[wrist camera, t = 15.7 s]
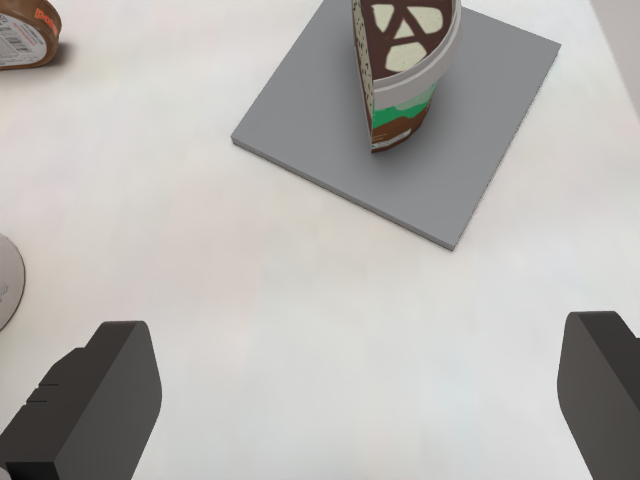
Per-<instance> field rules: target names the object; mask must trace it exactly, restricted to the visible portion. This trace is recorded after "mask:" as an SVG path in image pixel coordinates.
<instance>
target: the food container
mask: <svg viewBox="0 0 640 480" xmlns="http://www.w3.org/2000/svg"><path fill="white" fill-rule="evenodd" d="M351 6H352V23H353V40H354V50H355V56H356V63H357V69H358V75H359V81H360V87H361V93H362V100H363V106H364V112H365V118H366V124H367V130H368V137H369V143H370V149H371V154H372V153H376V152H381V151H385V150H388V149H390V148H392V147H394V146H396V145H398V144H400V143H402V142H404V141H406V140H407V139H408V138H409V137H410V136H411V135H412V134H413V133H414V132H415V131H416V130H417V129H418V128H419V127H420V126H421V124H422V122H423V120H424V118H425V116H426V114H427V112H428V110H429V107H430V104H431V100H432V97H433V94H434V91H435V87H436V84H437V81H438V79H439V78H440V77H441V76H442V75H443V74H444V73H445V72H446V70H447V69H448V67H449V66H450V64H451V63H452V62H453V60H454V58H455V56H456V53H457V51H458V49H459V46H460V42H461V38H462V30H463V17H462V7H461V0H351Z"/></svg>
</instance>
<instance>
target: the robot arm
mask: <svg viewBox="0 0 640 480" xmlns="http://www.w3.org/2000/svg"><path fill="white" fill-rule="evenodd" d="M23 285H24V266H23V262H22V259H21V255H20V254H19V252H18V250H17V248H16V247H15V245H14V244H13V243H12V242H11V241H10V240H9V239H8V238H7V237H5V236H3V235H1V234H0V329H1V328H2V327H3V326H4V325H5V324H6V323H7V321H8V320H9V319H10V317H11V316H12V314H13V312H14V311H15V309H16V308H17V305H18V303H19V300H20V298H21V295H22V291H23ZM557 392H558V399H559V404H560V408H561V411H562V413H563V416H564V418H565V420H566V422H567V424H568V426H569V429H570V431H571V433H572V435H573V437H574V439H575V441H576V444H577V446H578V448H579V450H580V452H581V454H582V456H583V459H584V461H585V463H586V465H587V467H588V469H589V471H590V474H591V476H592V478H593V480H640V338H636V337H635V335H634V334H633V333H632V332H631V330H630V329H629V328H628V326H627V325H626V324H625V322H624V321H623V320H622V318H621V317H620V316H619V315H618V313H616V312H615V311H587V312H571V313H569V315H568V316H567V319H566V323H565V330H564V337H563V344H562V350H561V357H560V364H559V371H558V378H557ZM161 401H162V387H161V381H160V376H159V372H158V367H157V363H156V359H155V354H154V350H153V345H152V341H151V336H150V332H149V329H148V326H147V324H146V323H145V322H144V321H106V322H103V323H102V324H101V325H100V326H99V328H98V329H97V331H96V332H95V333H94V335H93V336H92V338H91V339H90V341H89V342H88V343H87V345H86V346H85V348H75V349H74V350H73V351H71V352H70V353H68V354H67V355H66V356H64V357H63V358H62V359H60V360H59V361H58V362H56V363H55V364H54V365H53V366H52V367H51V368H50V370H49V371H48V372H47V374H46V375H45V377H44V378H43V379H42V381H41V382H40V383H39V387H38V388H36V389H35V390H34V391H33V393H32V394H31V395H30V397H29V398H28V399H27V401H26V405H23V406H22V407H21V409H20V410H19V411H18V413H17V414H16V415H15V417H14V418H13V419H12V421H11V422H10V423H9V425H8V426H7V427H6V429H5V430H4V431H3V433H2V434H1V435H0V480H131V478H132V476H133V474H134V471H135V469H136V467H137V464H138V462H139V460H140V458H141V455H142V453H143V451H144V448H145V446H146V444H147V441H148V439H149V437H150V434H151V432H152V430H153V427H154V425H155V423H156V420H157V418H158V415H159V412H160V408H161Z"/></svg>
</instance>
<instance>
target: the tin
mask: <svg viewBox="0 0 640 480" xmlns="http://www.w3.org/2000/svg"><path fill="white" fill-rule="evenodd" d="M61 26H62V24H61V19H60V16H59V14H58V12H57V11H56V9H55V8H54V7H53V6H52V5H51V4H50V3H49V2H48V1H47V0H0V69H18V68H31V67H37V66H41V65H44V64H46V63H48V62H49V61H50V60H51V59H52V58H53V57H54V55H55V53H56V50H57V46H58V39H59V33H60V31H61Z"/></svg>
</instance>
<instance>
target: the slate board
mask: <svg viewBox="0 0 640 480" xmlns="http://www.w3.org/2000/svg"><path fill="white" fill-rule="evenodd" d="M461 7H462V6H461ZM462 17H463V30H462V38H461V42H460V46H459V49H458V51H457V53H456V56H455V58H454V60H453V62H452V63H451V64H450V66H449V67H448V69H447V70H446V72H445V73H444V74H443V75H442V76H441V77H440V78H439V79H438V81H437V84H436V87H435V91H434V94H433V97H432V100H431V104H430V107H429V110H428V112H427V114H426V116H425V118H424V120H423V122H422V124H421V126H420V127H419V128H418V129H417V130H416V131H415V132H414V133H413V134H412V135H411V136H410V137H409V138H408V139H407V140H406V141H404V142H402V143H400V144H398V145H396V146H394V147H392V148H390V149H388V150H385V151H381V152H376V153H372V154H371V149H370V143H369V137H368V130H367V124H366V118H365V112H364V106H363V100H362V93H361V87H360V81H359V75H358V69H357V63H356V56H355V50H354V40H353V23H352V6H351V0H324V1H323V2H322V4H321V5H320V7H319V8H318V10H317V11H316V13H315V14H314V16H313V17H312V18H311V20H310V21H309V23H308V24H307V26H306V27H305V29H304V30H303V32H302V33H301V34H300V36H299V37H298V39H297V40H296V42H295V43H294V45H293V46H292V48H291V49H290V50H289V52H288V53H287V55H286V56H285V58H284V59H283V61H282V62H281V63H280V65H279V66H278V68H277V69H276V71H275V72H274V74H273V75H272V77H271V78H270V79H269V81H268V82H267V84H266V85H265V87H264V88H263V90H262V91H261V93H260V94H259V95H258V97H257V98H256V100H255V101H254V103H253V104H252V106H251V107H250V109H249V110H248V111H247V113H246V114H245V116H244V117H243V119H242V120H241V122H240V123H239V125H238V126H237V127H236V129H235V130H234V132H233V133H232V135H231V136H230V137H231V139H232V141H233V143H234V144H236V145H238V146H240V147H242V148H244V149H246V150H248V151H250V152H253V153H255V154H257V155H259V156H261V157H263V158H265V159H267V160H269V161H271V162H273V163H275V164H277V165H279V166H281V167H283V168H285V169H287V170H289V171H291V172H293V173H295V174H297V175H299V176H301V177H303V178H305V179H307V180H309V181H311V182H313V183H315V184H317V185H319V186H321V187H323V188H325V189H327V190H329V191H331V192H333V193H335V194H338V195H340V196H342V197H344V198H346V199H348V200H350V201H352V202H354V203H356V204H358V205H360V206H362V207H364V208H366V209H368V210H370V211H372V212H374V213H376V214H378V215H380V216H382V217H384V218H386V219H388V220H390V221H392V222H394V223H396V224H398V225H400V226H402V227H404V228H406V229H408V230H410V231H412V232H414V233H416V234H418V235H421V236H423V237H425V238H427V239H429V240H431V241H433V242H435V243H437V244H439V245H441V246H443V247H445V248H447V249H449V250H451V251H453V249H454V247H455V245H456V244H457V242H458V240H459V238H460V236H461V234H462V232H463V230H464V228H465V227H466V225H467V223H468V221H469V219H470V217H471V215H472V213H473V212H474V210H475V208H476V206H477V204H478V202H479V200H480V198H481V196H482V195H483V193H484V191H485V189H486V187H487V185H488V183H489V181H490V179H491V178H492V176H493V174H494V172H495V170H496V168H497V166H498V164H499V163H500V161H501V159H502V157H503V155H504V153H505V151H506V149H507V147H508V146H509V144H510V142H511V140H512V138H513V136H514V134H515V132H516V130H517V129H518V127H519V125H520V123H521V121H522V119H523V117H524V115H525V113H526V112H527V110H528V108H529V106H530V104H531V102H532V100H533V98H534V97H535V95H536V93H537V91H538V89H539V87H540V85H541V83H542V81H543V80H544V78H545V76H546V74H547V72H548V70H549V68H550V66H551V64H552V63H553V61H554V59H555V57H556V55H557V53H558V51H559V49H560V47H561V45H562V44H559V43H556V42H554V41H551V40H549V39H546V38H543V37H541V36H538V35H536V34H533V33H530V32H528V31H525V30H522V29H520V28H517V27H515V26H512V25H509V24H507V23H504V22H501V21H499V20H496V19H494V18H491V17H488V16H486V15H483V14H481V13H478V12H475V11H473V10H470V9H467V8H465V7H462Z"/></svg>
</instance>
